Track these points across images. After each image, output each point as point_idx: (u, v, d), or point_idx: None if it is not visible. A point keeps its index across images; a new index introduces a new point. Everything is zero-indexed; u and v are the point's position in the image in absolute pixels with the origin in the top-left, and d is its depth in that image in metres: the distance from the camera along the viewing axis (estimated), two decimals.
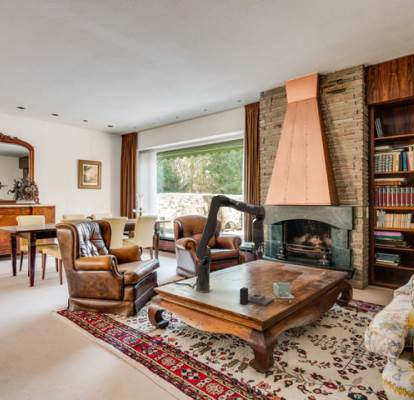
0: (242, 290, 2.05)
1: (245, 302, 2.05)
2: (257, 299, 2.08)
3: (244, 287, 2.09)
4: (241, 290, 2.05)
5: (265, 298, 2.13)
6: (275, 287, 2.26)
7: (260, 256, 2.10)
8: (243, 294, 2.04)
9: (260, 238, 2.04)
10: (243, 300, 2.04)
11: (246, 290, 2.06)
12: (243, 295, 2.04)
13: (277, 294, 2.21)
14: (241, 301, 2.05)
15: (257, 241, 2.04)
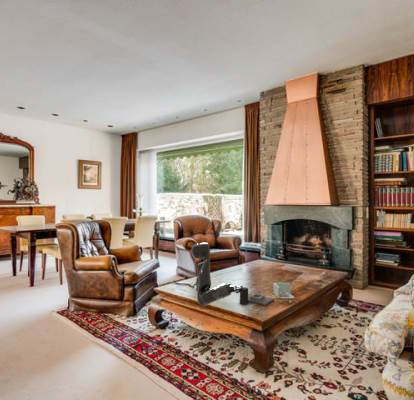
0: (242, 290, 2.05)
1: (245, 302, 2.05)
2: (257, 299, 2.08)
3: (244, 287, 2.09)
4: None
5: (265, 298, 2.13)
6: (275, 287, 2.26)
7: None
8: (243, 294, 2.04)
9: None
10: (243, 300, 2.04)
11: (246, 290, 2.06)
12: (243, 295, 2.04)
13: (277, 294, 2.21)
14: (241, 301, 2.05)
15: None
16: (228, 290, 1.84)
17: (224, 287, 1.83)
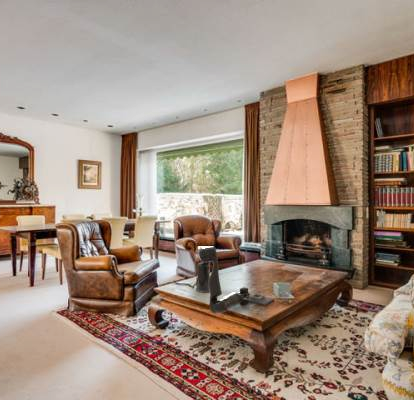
0: (242, 290, 2.05)
1: (245, 302, 2.05)
2: (257, 299, 2.08)
3: (244, 287, 2.09)
4: (241, 290, 2.05)
5: (265, 298, 2.13)
6: (275, 287, 2.26)
7: None
8: None
9: None
10: (243, 300, 2.04)
11: (246, 290, 2.06)
12: None
13: (277, 294, 2.21)
14: (241, 301, 2.05)
15: None
16: (238, 299, 1.94)
17: (234, 296, 1.93)
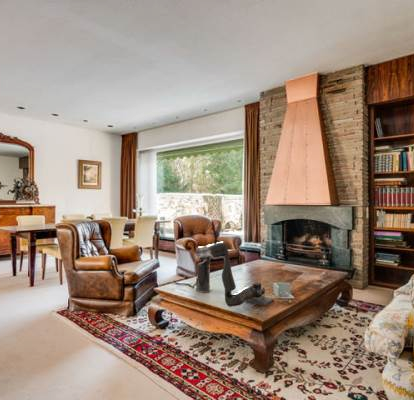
0: (255, 285, 2.11)
1: (258, 297, 2.11)
2: (257, 299, 2.08)
3: None
4: (254, 285, 2.11)
5: (265, 298, 2.13)
6: (275, 287, 2.26)
7: None
8: None
9: None
10: (256, 295, 2.10)
11: (259, 285, 2.12)
12: None
13: (277, 294, 2.21)
14: (254, 296, 2.11)
15: None
16: (252, 293, 2.00)
17: (249, 290, 1.99)
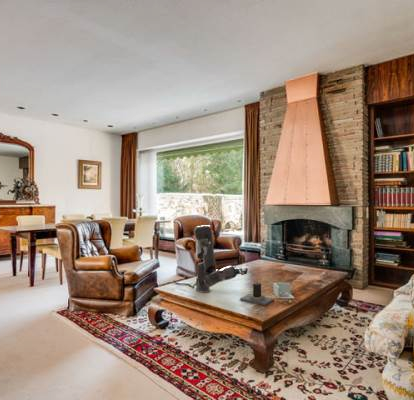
0: (255, 285, 2.11)
1: (258, 297, 2.11)
2: (257, 299, 2.08)
3: None
4: (254, 285, 2.11)
5: (265, 298, 2.13)
6: (275, 287, 2.26)
7: None
8: (256, 290, 2.10)
9: None
10: (256, 295, 2.10)
11: (259, 285, 2.12)
12: (256, 291, 2.10)
13: (277, 294, 2.21)
14: (254, 296, 2.11)
15: None
16: (234, 272, 1.90)
17: (230, 269, 1.89)
